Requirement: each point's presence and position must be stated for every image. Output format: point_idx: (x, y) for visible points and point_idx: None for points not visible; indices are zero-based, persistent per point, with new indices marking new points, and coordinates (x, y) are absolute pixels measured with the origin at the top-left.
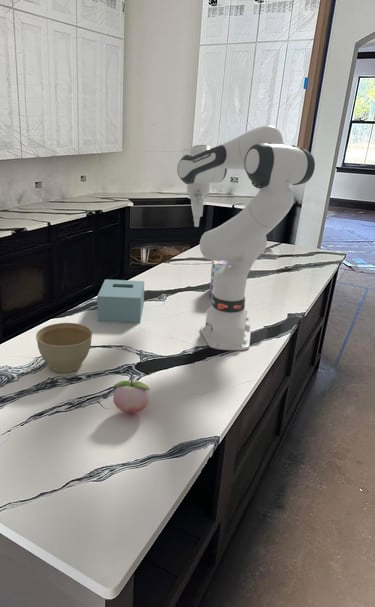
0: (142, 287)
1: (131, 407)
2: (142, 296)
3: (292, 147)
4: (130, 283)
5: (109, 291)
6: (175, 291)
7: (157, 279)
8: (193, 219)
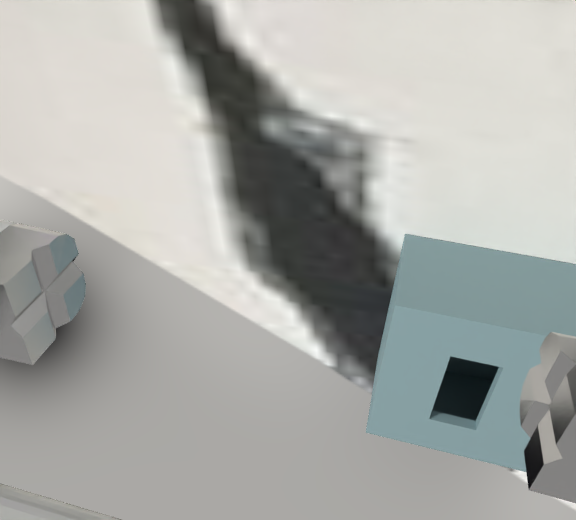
0: (504, 329)
1: None
2: (522, 302)
3: None
4: (430, 364)
5: None
6: (218, 57)
7: (60, 132)
8: (43, 330)
